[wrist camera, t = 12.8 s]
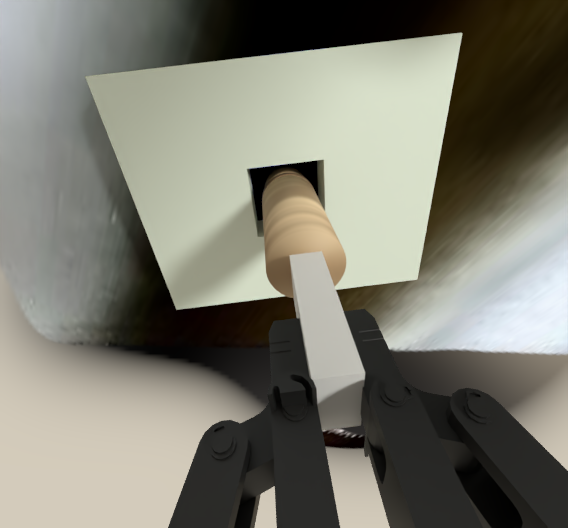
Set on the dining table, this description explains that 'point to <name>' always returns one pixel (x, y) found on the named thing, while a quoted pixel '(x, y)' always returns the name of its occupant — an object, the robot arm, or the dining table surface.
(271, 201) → the peg
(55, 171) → the dining table surface
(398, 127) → the board
